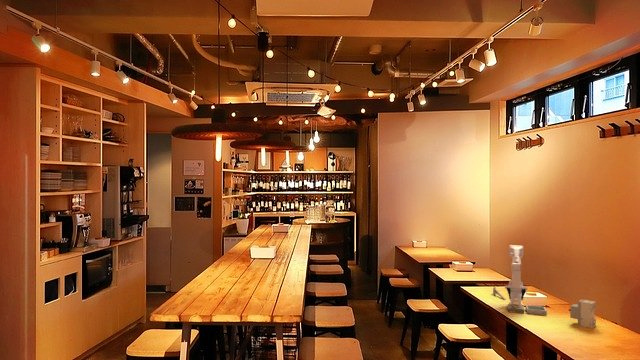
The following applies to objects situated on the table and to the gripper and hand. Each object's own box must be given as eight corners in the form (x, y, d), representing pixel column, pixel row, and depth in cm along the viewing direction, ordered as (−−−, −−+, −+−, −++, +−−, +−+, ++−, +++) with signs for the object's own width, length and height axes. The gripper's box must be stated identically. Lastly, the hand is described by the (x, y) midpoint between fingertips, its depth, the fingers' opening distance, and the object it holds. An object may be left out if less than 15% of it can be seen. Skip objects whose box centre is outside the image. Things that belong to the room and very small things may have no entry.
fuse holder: (507, 307, 341) (507, 304, 341) (522, 309, 338) (522, 305, 338) (508, 311, 330) (508, 308, 330) (524, 313, 327) (524, 309, 327)
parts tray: (525, 309, 337) (525, 305, 337) (544, 311, 334) (544, 306, 334) (527, 313, 326) (527, 309, 326) (546, 315, 322) (546, 310, 322)
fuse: (513, 309, 336) (513, 298, 336) (517, 310, 335) (518, 298, 335) (513, 310, 333) (513, 299, 333) (518, 311, 332) (518, 299, 332)
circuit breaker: (571, 320, 310) (571, 297, 310) (595, 325, 300) (596, 301, 300) (567, 323, 305) (567, 299, 305) (592, 328, 295) (592, 303, 295)
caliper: (492, 294, 385) (493, 286, 385) (494, 294, 385) (494, 286, 385) (504, 300, 364) (504, 292, 365) (506, 300, 365) (506, 292, 365)
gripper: (505, 280, 333) (505, 299, 332) (528, 282, 328) (527, 301, 328) (504, 278, 339) (504, 297, 339) (527, 280, 335) (526, 299, 335)
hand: (515, 299), depth 334 cm, fingers open, 7 cm apart
